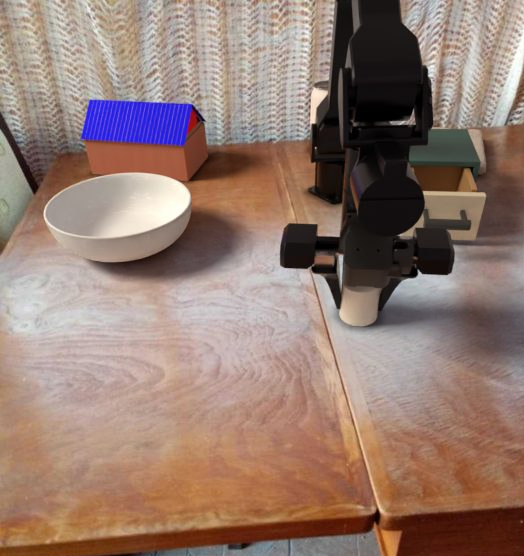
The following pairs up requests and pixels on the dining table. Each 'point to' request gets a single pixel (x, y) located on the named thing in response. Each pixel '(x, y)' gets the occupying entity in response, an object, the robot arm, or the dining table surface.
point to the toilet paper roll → (359, 305)
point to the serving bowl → (119, 216)
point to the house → (144, 138)
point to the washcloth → (476, 146)
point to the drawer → (449, 201)
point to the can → (317, 98)
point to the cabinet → (447, 150)
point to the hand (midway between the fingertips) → (358, 308)
